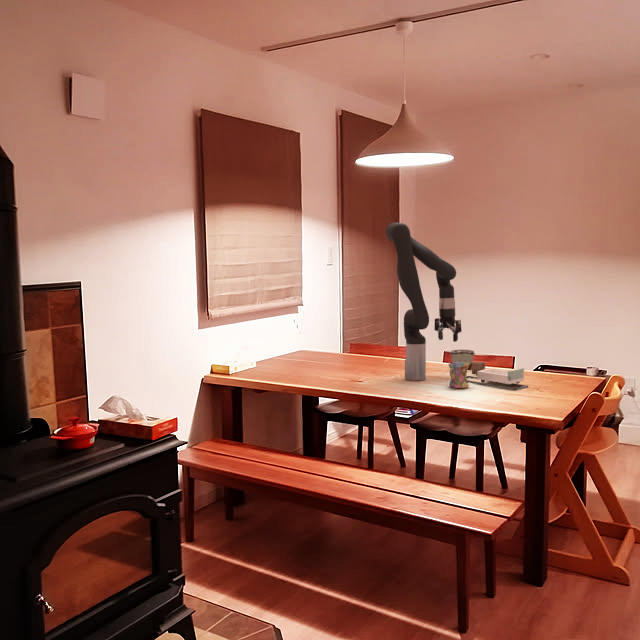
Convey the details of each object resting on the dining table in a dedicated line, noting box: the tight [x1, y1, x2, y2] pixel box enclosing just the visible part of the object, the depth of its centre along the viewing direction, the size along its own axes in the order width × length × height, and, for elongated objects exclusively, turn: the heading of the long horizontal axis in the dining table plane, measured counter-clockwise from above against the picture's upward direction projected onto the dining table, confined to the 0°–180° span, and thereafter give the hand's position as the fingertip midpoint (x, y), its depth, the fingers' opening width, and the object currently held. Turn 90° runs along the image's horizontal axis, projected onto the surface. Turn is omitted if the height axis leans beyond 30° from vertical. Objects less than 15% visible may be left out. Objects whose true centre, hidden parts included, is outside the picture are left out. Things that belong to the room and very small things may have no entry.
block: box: [471, 360, 486, 376], centre depth 314 cm, size 4×4×6 cm
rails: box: [467, 375, 529, 391], centre depth 293 cm, size 10×32×1 cm, turn 40°
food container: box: [449, 349, 476, 370], centre depth 328 cm, size 12×6×10 cm, turn 84°
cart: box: [476, 367, 525, 387], centre depth 288 cm, size 11×17×7 cm, turn 40°
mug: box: [447, 361, 470, 389], centre depth 285 cm, size 12×9×11 cm
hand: (448, 340), depth 307 cm, fingers open, 8 cm apart
